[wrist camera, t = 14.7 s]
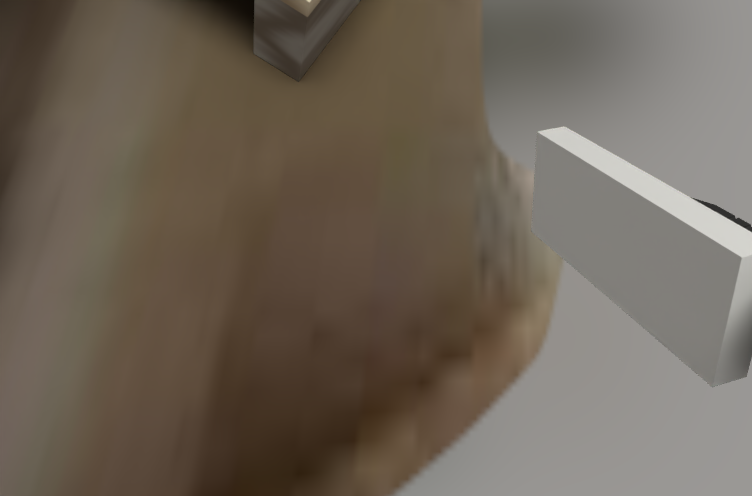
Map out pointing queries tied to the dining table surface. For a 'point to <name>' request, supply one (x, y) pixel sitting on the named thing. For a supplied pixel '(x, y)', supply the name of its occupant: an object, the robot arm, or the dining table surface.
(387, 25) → the dining table surface
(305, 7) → the shelf
